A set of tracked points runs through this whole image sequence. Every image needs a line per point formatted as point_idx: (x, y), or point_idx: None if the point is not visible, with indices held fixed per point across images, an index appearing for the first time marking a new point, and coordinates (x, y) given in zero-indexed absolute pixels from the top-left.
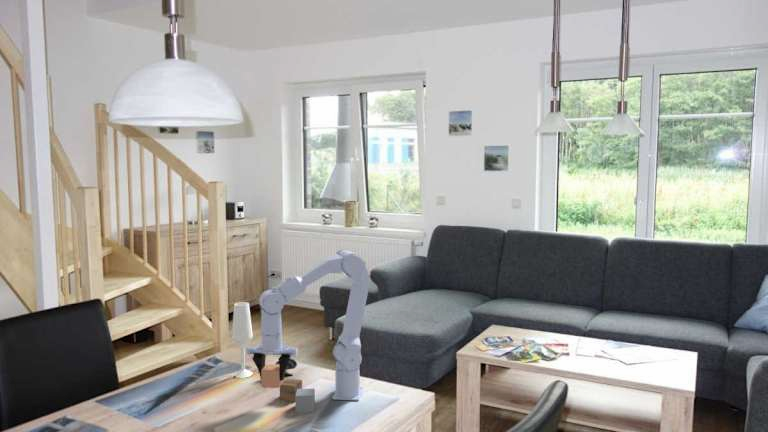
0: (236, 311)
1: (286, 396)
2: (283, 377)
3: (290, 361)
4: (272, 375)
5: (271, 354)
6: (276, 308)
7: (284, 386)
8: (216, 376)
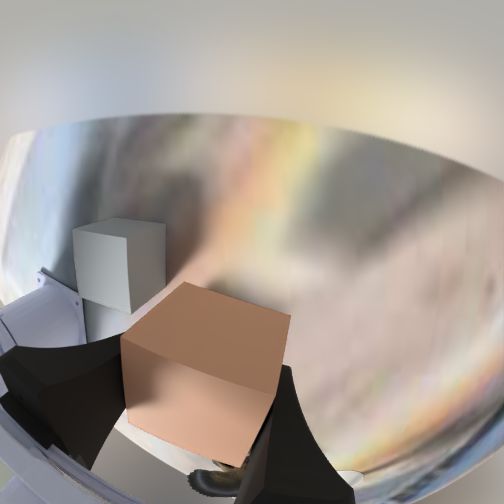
0: None
1: None
2: None
3: (202, 487)
4: (187, 335)
5: (37, 459)
6: None
7: None
8: (399, 475)
